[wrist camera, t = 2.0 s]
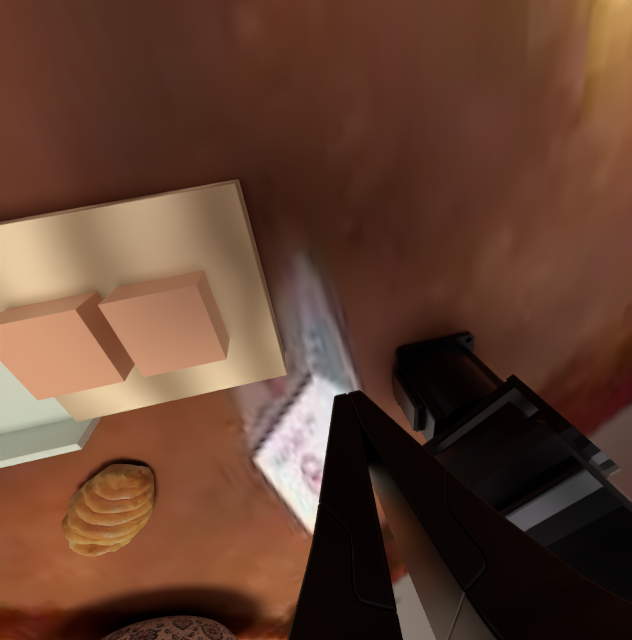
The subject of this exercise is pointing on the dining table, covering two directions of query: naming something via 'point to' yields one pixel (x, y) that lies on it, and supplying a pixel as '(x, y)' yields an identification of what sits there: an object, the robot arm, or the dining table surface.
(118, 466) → the pastry
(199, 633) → the ceramic bowl
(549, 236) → the dining table surface
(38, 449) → the tray
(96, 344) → the tile
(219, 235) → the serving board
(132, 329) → the tile
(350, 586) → the robot arm
